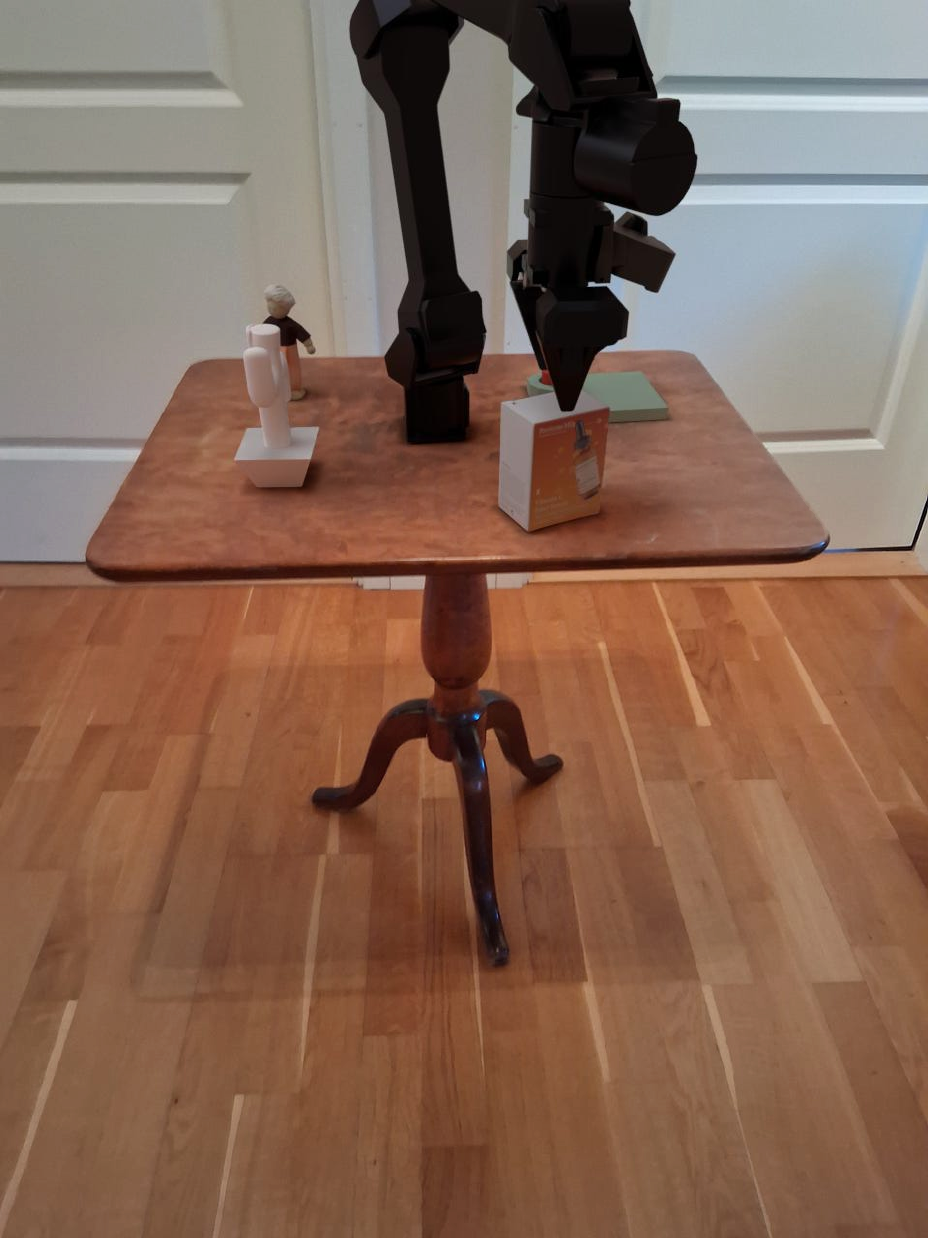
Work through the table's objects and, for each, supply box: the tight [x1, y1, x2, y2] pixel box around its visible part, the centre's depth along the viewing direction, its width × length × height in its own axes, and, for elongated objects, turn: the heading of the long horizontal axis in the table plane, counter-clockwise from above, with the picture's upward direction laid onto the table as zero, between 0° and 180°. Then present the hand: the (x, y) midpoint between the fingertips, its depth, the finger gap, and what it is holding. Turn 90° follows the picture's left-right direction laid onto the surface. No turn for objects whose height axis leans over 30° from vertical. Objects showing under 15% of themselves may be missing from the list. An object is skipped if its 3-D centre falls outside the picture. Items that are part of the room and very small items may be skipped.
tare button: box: [541, 370, 552, 386], centre depth 101 cm, size 3×3×2 cm
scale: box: [525, 370, 669, 423], centre depth 103 cm, size 15×11×3 cm
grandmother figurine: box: [261, 284, 317, 401], centre depth 102 cm, size 8×4×13 cm, turn 77°
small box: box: [497, 390, 610, 533], centre depth 80 cm, size 8×6×10 cm
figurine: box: [233, 323, 320, 488], centre depth 85 cm, size 7×9×15 cm
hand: (555, 389), depth 76 cm, fingers open, 9 cm apart
